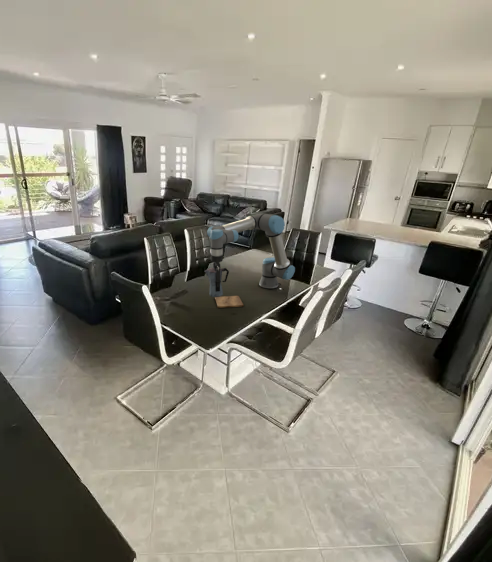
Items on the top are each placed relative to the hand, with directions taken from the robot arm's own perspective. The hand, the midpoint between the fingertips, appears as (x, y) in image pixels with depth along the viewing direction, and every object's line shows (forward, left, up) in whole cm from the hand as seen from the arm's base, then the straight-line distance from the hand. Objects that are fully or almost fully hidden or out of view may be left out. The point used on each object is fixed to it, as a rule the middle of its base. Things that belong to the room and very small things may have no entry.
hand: (216, 288), depth 207 cm
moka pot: (0, 0, -4) cm, 4 cm away
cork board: (-12, -19, -20) cm, 30 cm away
